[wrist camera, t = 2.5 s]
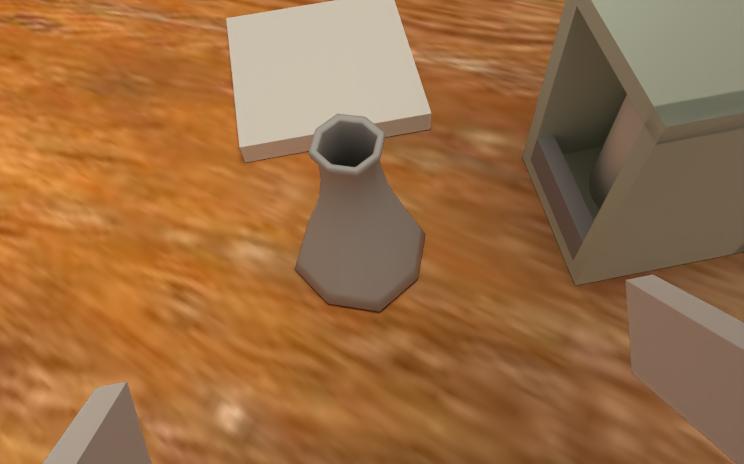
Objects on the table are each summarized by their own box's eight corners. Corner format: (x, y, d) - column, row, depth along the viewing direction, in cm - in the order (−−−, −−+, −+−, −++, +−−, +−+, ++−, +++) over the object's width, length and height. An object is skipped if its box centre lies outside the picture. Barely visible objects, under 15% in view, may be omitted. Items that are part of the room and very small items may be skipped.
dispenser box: (675, 128, 38) (790, -65, 26) (748, 250, 33) (925, 79, 22) (522, 157, 37) (573, -29, 26) (575, 285, 32) (666, 126, 21)
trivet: (391, 8, 45) (391, -9, 43) (430, 129, 38) (431, 113, 37) (231, 35, 44) (226, 18, 43) (245, 162, 38) (239, 147, 36)
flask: (273, 277, 34) (228, 170, 25) (339, 183, 37) (319, 60, 28) (386, 335, 32) (380, 240, 23) (446, 231, 35) (460, 113, 26)
